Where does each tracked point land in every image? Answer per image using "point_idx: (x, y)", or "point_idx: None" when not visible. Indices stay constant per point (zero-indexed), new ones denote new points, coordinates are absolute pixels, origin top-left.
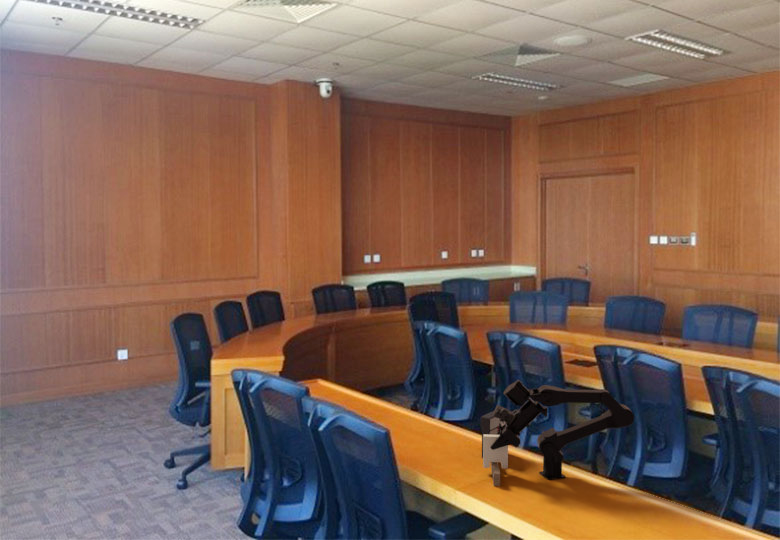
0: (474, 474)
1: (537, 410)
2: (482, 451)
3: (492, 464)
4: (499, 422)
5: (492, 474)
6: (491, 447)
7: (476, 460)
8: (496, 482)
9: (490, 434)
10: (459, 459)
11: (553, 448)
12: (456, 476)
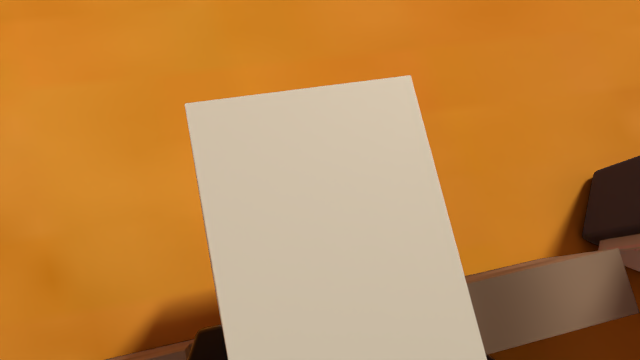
0: (185, 165)
1: None
2: (636, 162)
3: (183, 350)
4: None
5: (163, 347)
6: (196, 347)
7: (527, 137)
8: None
9: (465, 284)
10: (494, 7)
11: None
12: (89, 20)
